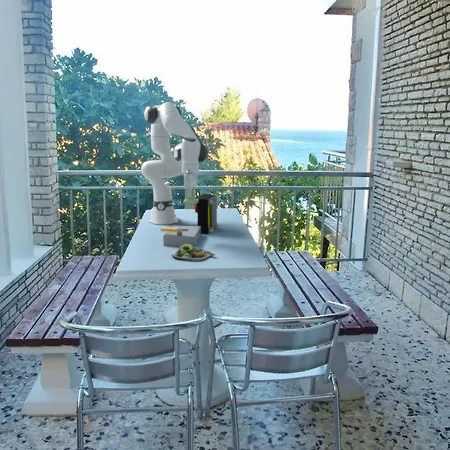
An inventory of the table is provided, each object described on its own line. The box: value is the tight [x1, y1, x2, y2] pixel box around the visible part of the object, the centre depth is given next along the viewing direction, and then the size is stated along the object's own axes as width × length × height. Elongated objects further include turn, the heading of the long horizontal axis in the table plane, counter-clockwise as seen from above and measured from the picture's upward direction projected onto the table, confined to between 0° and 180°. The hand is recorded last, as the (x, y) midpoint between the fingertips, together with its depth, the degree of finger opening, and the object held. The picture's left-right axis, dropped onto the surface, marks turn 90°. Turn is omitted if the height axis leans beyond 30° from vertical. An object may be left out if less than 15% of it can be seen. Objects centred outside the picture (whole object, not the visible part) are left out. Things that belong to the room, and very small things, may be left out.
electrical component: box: [194, 193, 219, 235], centre depth 266 cm, size 18×10×20 cm, turn 168°
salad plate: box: [171, 244, 216, 262], centre depth 217 cm, size 19×18×5 cm
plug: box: [182, 187, 199, 210], centre depth 243 cm, size 7×7×11 cm
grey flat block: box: [162, 225, 202, 247], centre depth 246 cm, size 24×16×5 cm, turn 175°
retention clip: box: [160, 226, 183, 236], centre depth 237 cm, size 11×3×3 cm, turn 75°
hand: (190, 195), depth 243 cm, fingers closed on plug, 4 cm apart
